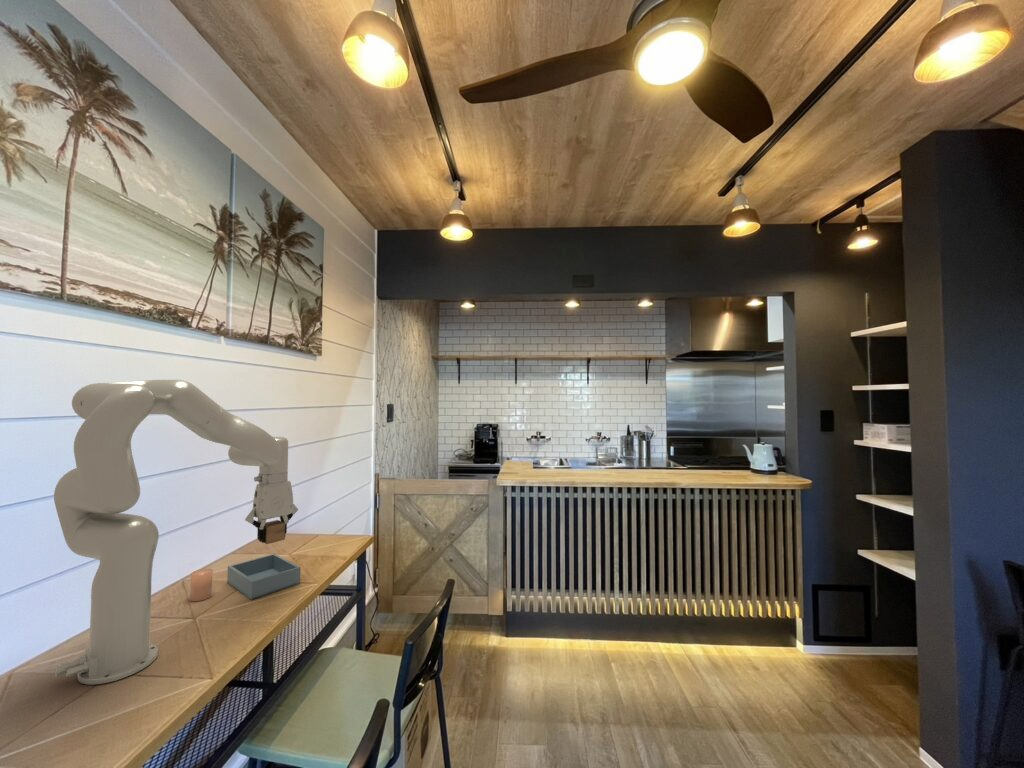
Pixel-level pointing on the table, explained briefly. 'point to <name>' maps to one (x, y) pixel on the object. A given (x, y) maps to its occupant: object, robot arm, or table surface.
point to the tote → (263, 576)
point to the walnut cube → (274, 531)
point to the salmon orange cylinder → (201, 584)
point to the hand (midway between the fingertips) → (272, 538)
